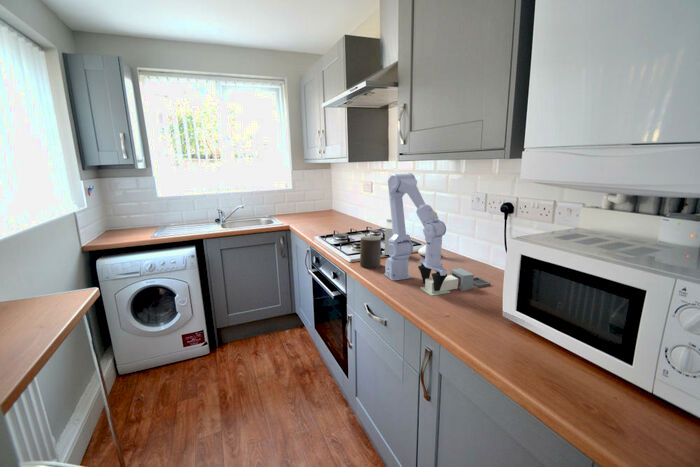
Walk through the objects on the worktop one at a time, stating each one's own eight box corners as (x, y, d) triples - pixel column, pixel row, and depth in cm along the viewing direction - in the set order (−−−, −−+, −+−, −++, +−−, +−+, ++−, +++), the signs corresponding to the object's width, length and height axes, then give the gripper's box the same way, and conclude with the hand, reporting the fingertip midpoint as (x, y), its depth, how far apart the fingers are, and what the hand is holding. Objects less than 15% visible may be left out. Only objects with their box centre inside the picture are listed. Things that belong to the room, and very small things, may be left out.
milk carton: (397, 257, 165) (398, 221, 161) (384, 255, 168) (385, 220, 163) (400, 253, 172) (401, 219, 168) (387, 252, 174) (388, 218, 170)
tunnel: (462, 290, 123) (463, 276, 122) (449, 283, 131) (450, 269, 129) (472, 288, 125) (473, 274, 124) (459, 281, 132) (460, 268, 131)
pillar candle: (367, 270, 146) (368, 238, 143) (356, 264, 155) (356, 234, 151) (384, 266, 151) (385, 236, 148) (372, 261, 159) (373, 232, 156)
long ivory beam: (431, 292, 121) (432, 282, 120) (424, 288, 125) (425, 278, 124) (457, 288, 125) (458, 278, 124) (450, 284, 129) (451, 275, 128)
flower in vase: (441, 258, 162) (445, 210, 157) (419, 258, 164) (421, 210, 158) (437, 251, 175) (440, 206, 169) (416, 251, 176) (418, 206, 170)
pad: (431, 295, 119) (431, 295, 119) (419, 287, 126) (419, 287, 126) (450, 292, 122) (450, 292, 121) (438, 284, 129) (438, 284, 129)
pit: (477, 287, 126) (478, 285, 126) (465, 281, 133) (465, 278, 133) (490, 285, 128) (490, 283, 128) (477, 279, 135) (477, 277, 135)
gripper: (454, 257, 114) (451, 292, 117) (431, 247, 128) (429, 279, 131) (437, 259, 112) (435, 295, 115) (416, 249, 125) (414, 281, 128)
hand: (431, 286), depth 123 cm, fingers open, 7 cm apart
